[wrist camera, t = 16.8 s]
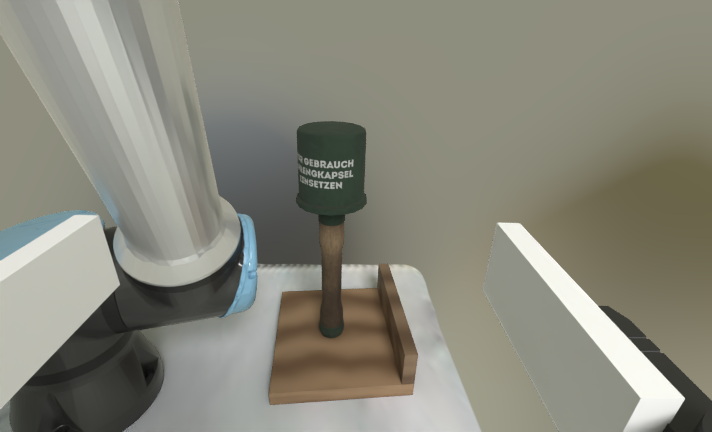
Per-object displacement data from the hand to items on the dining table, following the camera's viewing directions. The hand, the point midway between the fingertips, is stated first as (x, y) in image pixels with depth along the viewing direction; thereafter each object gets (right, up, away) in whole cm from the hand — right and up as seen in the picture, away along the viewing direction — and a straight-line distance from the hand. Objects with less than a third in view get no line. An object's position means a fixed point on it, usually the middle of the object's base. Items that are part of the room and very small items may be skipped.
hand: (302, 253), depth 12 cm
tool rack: (-1, -18, +42) cm, 46 cm away
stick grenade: (-2, -16, +41) cm, 44 cm away
